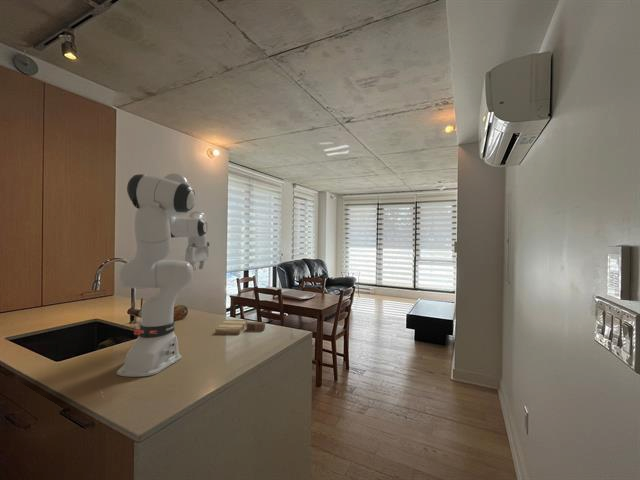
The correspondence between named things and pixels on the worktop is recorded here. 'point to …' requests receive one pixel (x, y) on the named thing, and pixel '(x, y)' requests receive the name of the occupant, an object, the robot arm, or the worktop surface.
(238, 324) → the board
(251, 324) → the block
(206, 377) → the worktop surface
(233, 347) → the worktop surface
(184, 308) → the brown flat oval piece
